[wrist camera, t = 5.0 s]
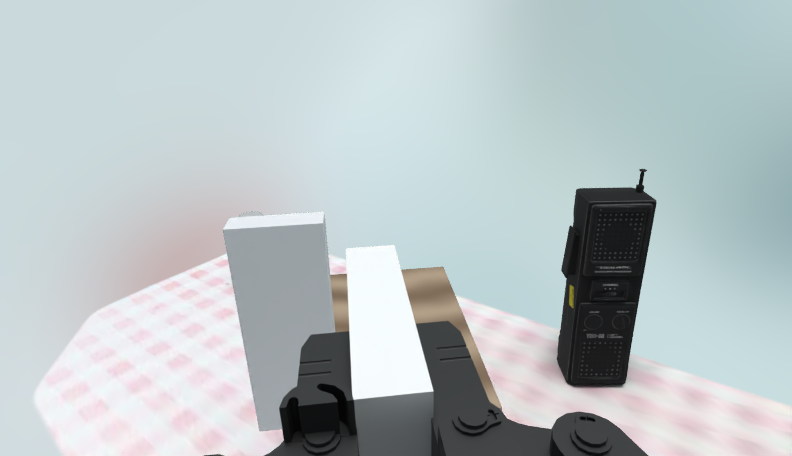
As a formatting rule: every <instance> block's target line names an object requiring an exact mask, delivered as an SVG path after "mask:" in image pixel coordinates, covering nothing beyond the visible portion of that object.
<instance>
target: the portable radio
mask: <svg viewBox="0 0 792 456" xmlns="http://www.w3.org/2000/svg"><path fill="white" fill-rule="evenodd" d="M640 171H642V172H641V174H640V180H639V185H637V186H636V189H635V188H583V189H581V188H580V189H577V190H576V196H575V205H574V223H573V227H572V226H570V227H569V232H568V238H567V243H566V248H565V254H564V259H563V265H562V272H563V274H564V276H565V277H566V278H567V280H566V289H565V297H564V305H563V314H562V322H561V330H560V335H559V342H558V356H557V360H558V363H559V366H560V368H561V370H562V372H563V375H564V377H565V379H566V381H567V382H568V383H570V384H624V383H625V381H626V377H627V370H628V363H629V356H630V349H631V343H632V337H633V331H634V325H635V319H636V314H637V308H638V302H639V296H640V290H641V285H642V279H643V274H644V268H645V263H646V257H647V252H648V246H649V241H650V236H651V230H652V225H653V219H654V213H655V208H656V200H655V199H653V198H652V197H651V196H649V195H648V194H647V193H645V192H644V191H643V189H644V186H643V185H642V183H643V177H644V172H646V171H647V170H645V169H640Z"/></svg>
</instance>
